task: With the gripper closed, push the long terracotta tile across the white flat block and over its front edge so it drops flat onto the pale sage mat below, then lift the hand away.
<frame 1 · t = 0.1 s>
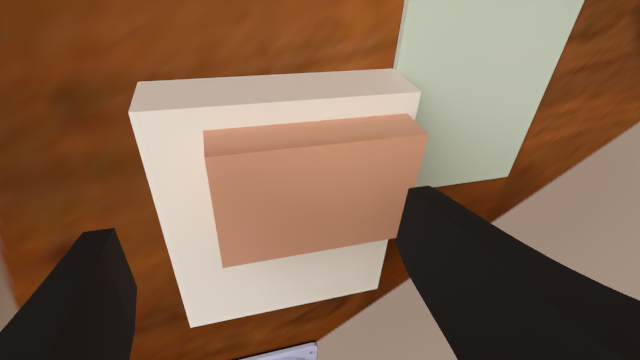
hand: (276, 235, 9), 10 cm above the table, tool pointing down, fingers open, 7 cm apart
tile: (309, 177, 17), point 3 cm above the table, touching white flat block
mat: (466, 98, 21), on the table
white flat block: (279, 191, 21), on the table
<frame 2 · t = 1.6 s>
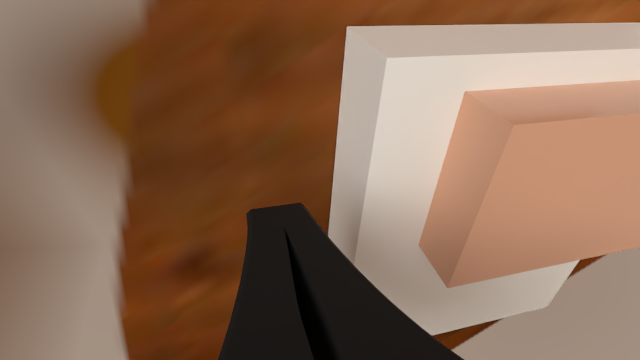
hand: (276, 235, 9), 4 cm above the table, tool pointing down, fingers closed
tile: (550, 164, 13), point 3 cm above the table, touching white flat block
white flat block: (456, 185, 17), on the table
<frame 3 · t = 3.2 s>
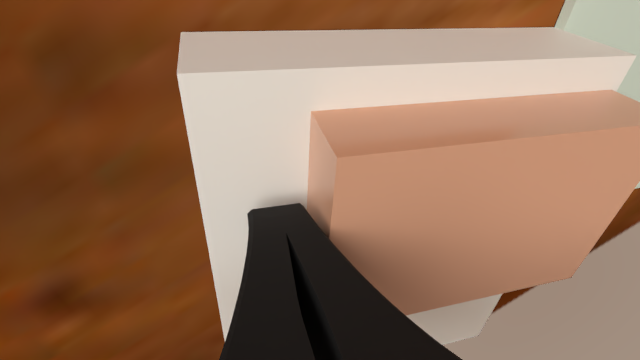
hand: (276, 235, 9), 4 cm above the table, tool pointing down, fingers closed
tile: (448, 190, 11), point 3 cm above the table, touching gripper
mat: (631, 77, 15), on the table
white flat block: (363, 207, 15), on the table
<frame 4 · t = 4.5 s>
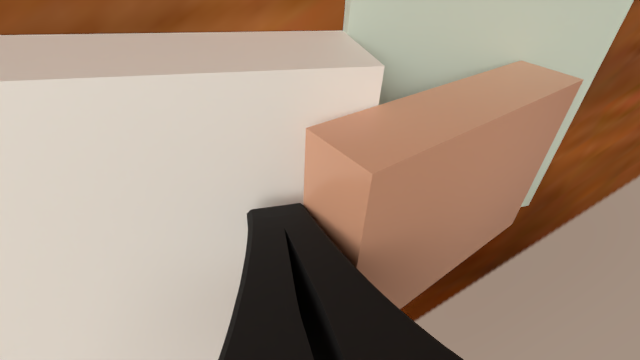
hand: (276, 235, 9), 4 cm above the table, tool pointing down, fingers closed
tile: (415, 175, 12), point 2 cm above the table, tilted 22°, touching gripper
mat: (471, 87, 13), on the table
white flat block: (167, 235, 13), on the table
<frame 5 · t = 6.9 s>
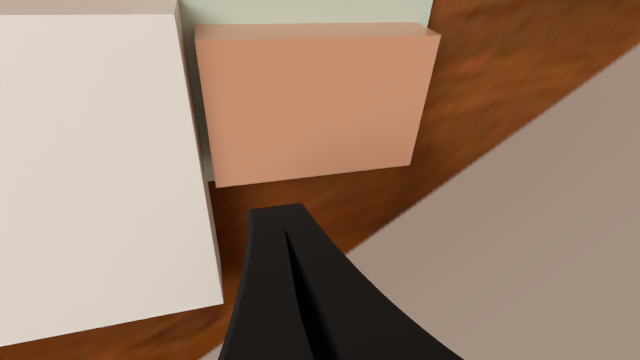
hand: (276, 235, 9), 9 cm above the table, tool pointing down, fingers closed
tile: (311, 94, 16), resting on mat
mat: (311, 47, 15), on the table
white flat block: (58, 173, 16), on the table
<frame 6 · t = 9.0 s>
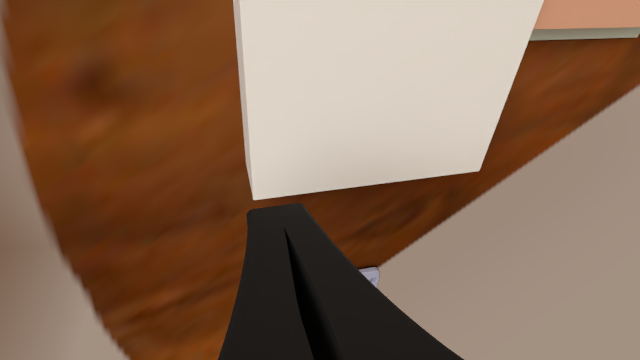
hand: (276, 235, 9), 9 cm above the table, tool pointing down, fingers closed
white flat block: (372, 18, 16), on the table
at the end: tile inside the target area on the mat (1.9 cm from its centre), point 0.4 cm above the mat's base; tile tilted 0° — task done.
